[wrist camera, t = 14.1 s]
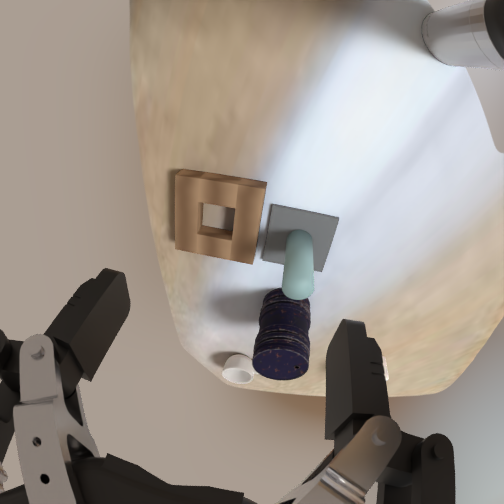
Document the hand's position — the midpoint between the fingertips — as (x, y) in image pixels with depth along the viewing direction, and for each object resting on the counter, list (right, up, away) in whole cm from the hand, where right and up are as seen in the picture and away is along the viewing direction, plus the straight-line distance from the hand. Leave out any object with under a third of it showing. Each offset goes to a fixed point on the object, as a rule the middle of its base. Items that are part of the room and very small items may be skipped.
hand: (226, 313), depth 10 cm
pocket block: (-4, +9, +39) cm, 40 cm away
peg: (+9, +4, +39) cm, 40 cm away
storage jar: (+8, -9, +49) cm, 50 cm away
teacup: (-1, -25, +62) cm, 67 cm away
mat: (+9, +4, +40) cm, 41 cm away
